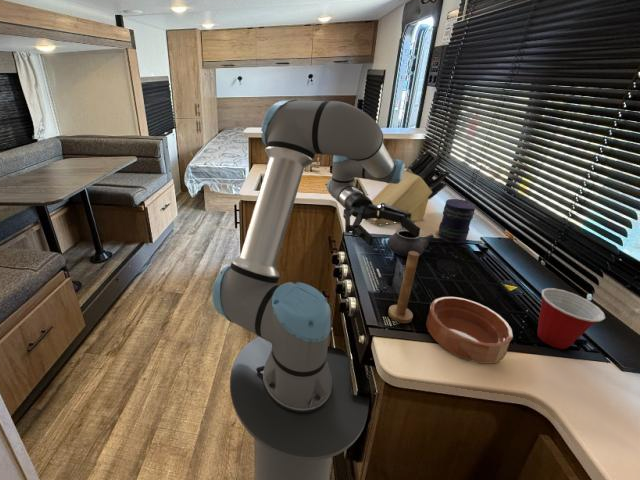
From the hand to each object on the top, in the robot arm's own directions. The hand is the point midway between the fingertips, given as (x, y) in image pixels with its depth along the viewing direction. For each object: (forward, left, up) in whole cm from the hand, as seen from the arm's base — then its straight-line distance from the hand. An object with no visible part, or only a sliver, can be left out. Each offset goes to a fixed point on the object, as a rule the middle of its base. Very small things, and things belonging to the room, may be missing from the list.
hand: (395, 237), depth 82 cm
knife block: (+14, +65, -22) cm, 70 cm away
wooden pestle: (+4, -4, -22) cm, 23 cm away
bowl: (+18, -8, -22) cm, 30 cm away
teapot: (+12, +37, -22) cm, 44 cm away
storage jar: (+31, +50, -22) cm, 63 cm away
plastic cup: (+39, -3, -22) cm, 45 cm away
